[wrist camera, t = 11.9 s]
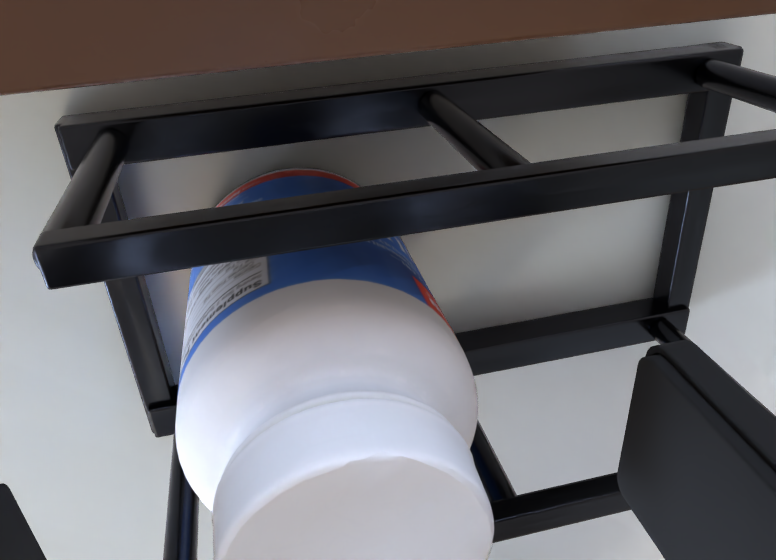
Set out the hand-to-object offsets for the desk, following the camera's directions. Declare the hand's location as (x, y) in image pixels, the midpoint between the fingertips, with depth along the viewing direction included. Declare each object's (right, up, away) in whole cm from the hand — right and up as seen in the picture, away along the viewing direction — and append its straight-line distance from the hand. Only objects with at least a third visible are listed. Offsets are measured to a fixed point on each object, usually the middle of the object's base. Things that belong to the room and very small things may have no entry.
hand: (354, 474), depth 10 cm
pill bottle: (-2, +4, +8) cm, 9 cm away
